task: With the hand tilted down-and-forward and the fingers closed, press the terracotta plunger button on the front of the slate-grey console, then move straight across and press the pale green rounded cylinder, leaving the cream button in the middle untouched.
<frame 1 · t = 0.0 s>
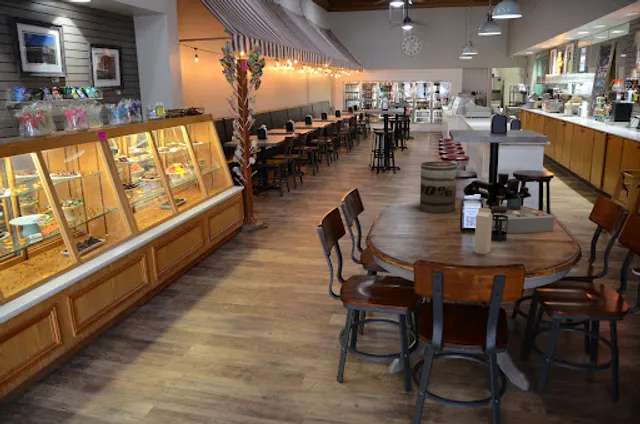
hand: (524, 196, 296), 17 cm above the table, tool horizontal, fingers open, 9 cm apart
french press: (496, 238, 274), on the table
console: (521, 230, 288), on the table
cream button: (516, 214, 292), point 7 cm above the table, slide at 0.0 cm
terracotta button: (498, 215, 291), point 7 cm above the table, slide at 0.0 cm
pale green rounded cylinder: (535, 214, 293), point 7 cm above the table, slide at 0.0 cm
barrel: (437, 209, 338), on the table
flask: (513, 209, 334), on the table
milk: (482, 252, 253), on the table
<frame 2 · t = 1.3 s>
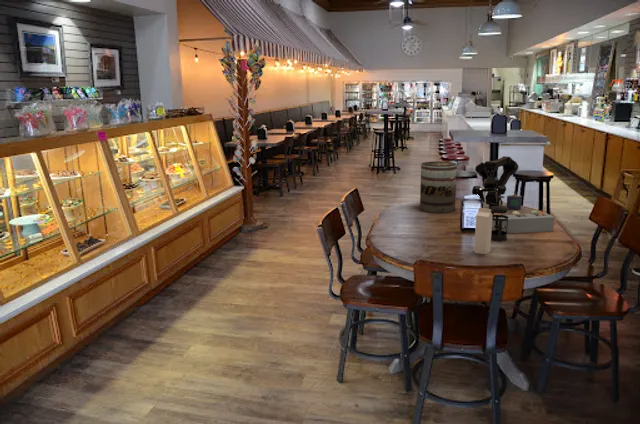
hand: (490, 202, 300), 13 cm above the table, tool tilted 45°, fingers open, 7 cm apart
nothing on the table moved.
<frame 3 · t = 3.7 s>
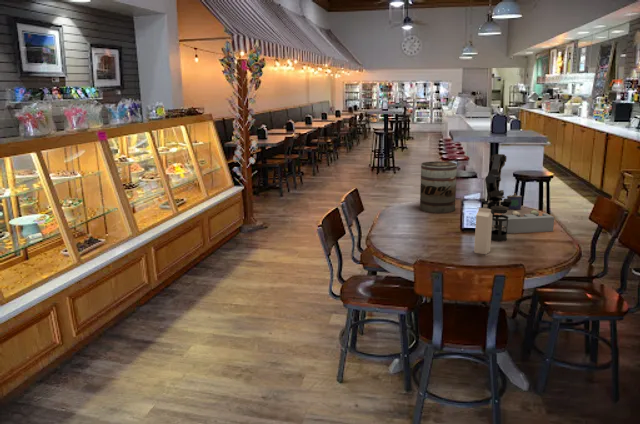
hand: (495, 215, 293), 7 cm above the table, tool tilted 45°, fingers closed
terracotta button: (498, 216, 291), point 7 cm above the table, slide at 0.5 cm, touching gripper
everything else where it was.
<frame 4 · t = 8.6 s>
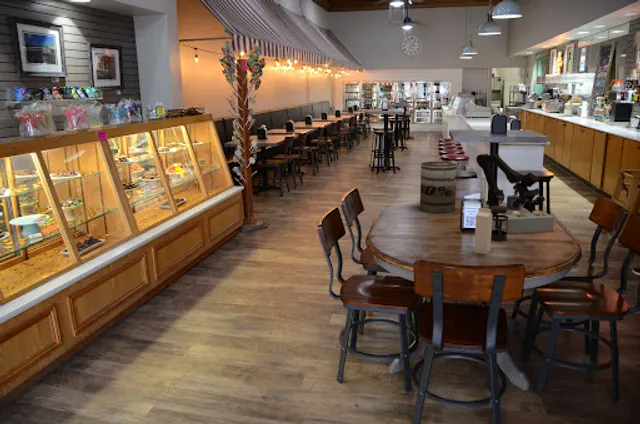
hand: (534, 214, 295), 7 cm above the table, tool tilted 45°, fingers closed
terracotta button: (501, 217, 288), point 7 cm above the table, slide at 3.7 cm
pale green rounded cylinder: (536, 214, 292), point 7 cm above the table, slide at 1.3 cm, touching gripper
everything else where it was.
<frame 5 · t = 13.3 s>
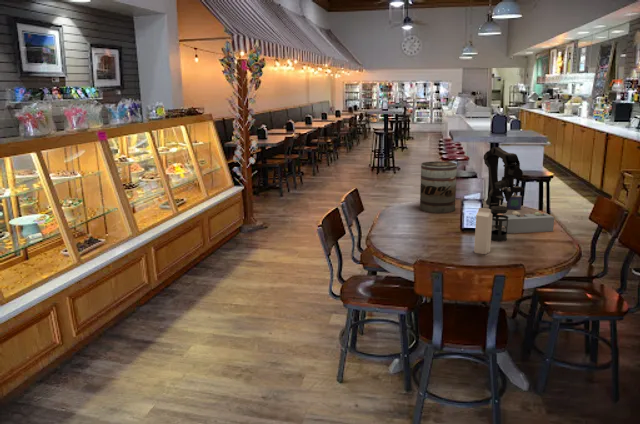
hand: (507, 201, 304), 12 cm above the table, tool pointing down, fingers closed
pale green rounded cylinder: (538, 215, 290), point 7 cm above the table, slide at 3.7 cm
everything else where it was.
at the end: terracotta button slide at 3.7 cm; pale green rounded cylinder slide at 3.7 cm; cream button slide at 0.0 cm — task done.
